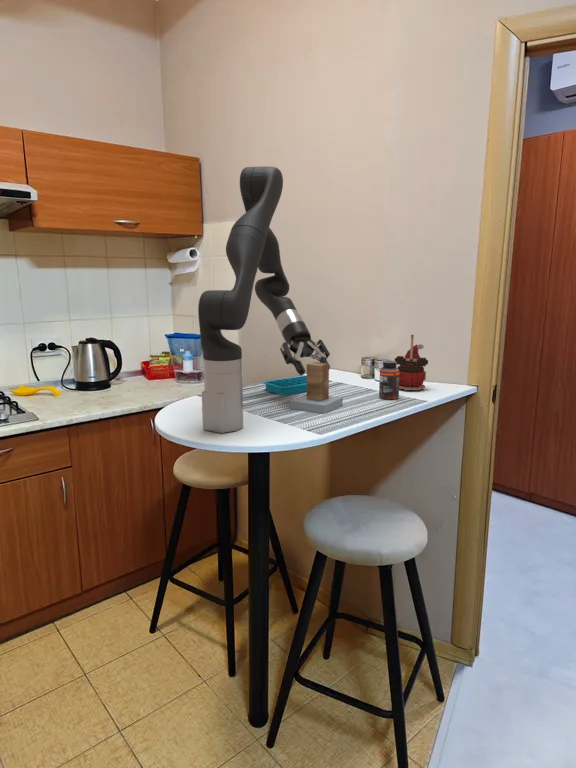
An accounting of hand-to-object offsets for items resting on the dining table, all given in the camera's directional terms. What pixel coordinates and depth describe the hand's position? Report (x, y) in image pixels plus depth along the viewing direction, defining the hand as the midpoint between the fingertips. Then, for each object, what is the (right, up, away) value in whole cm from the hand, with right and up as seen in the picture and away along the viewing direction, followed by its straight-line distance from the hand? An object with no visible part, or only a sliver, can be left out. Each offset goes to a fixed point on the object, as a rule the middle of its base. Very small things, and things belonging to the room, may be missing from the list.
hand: (315, 372), depth 146 cm
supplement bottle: (+23, -8, +13) cm, 28 cm away
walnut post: (+1, -8, +1) cm, 8 cm away
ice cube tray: (-5, -5, +26) cm, 27 cm away
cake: (+33, -5, +25) cm, 42 cm away
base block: (0, -11, +2) cm, 11 cm away
